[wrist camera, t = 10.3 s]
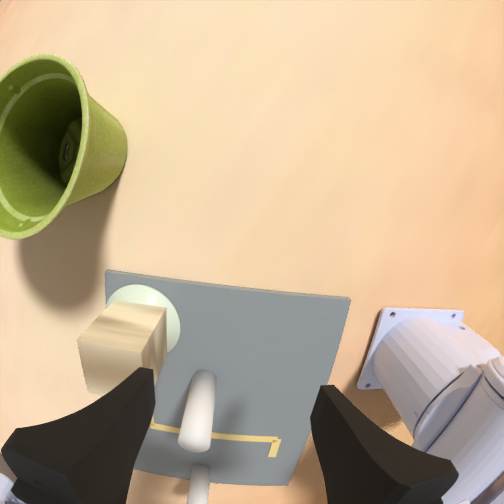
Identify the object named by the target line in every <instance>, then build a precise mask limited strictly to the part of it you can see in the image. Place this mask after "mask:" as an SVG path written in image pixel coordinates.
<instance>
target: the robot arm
mask: <svg viewBox="0 0 504 504" xmlns="http://www.w3.org/2000/svg"><path fill="white" fill-rule="evenodd" d="M392 312H393V315H391V316H390V314H391V313H392ZM452 315H453V316H452ZM451 316H452V317H451ZM463 316H464V312H463V311H462V310H449V309H418V308H396V307H385V308H383V309H382V311H381V313H380V316H379V320H378V323H377V326H376V330H375V333H374V336H373V339H372V342H371V345H370V349H369V352H368V354H367V357H366V360H365V363H364V366H363V369H362V372H361V374H360V377H359V380H358V382H357V387H358V389H359V390H367V389H384V391H385V392H386V394H387V396H388V397H389V399H390V401H391V402H392V404H393V405H394V407H395V409H396V410H397V412H398V414H399V415H400V417H401V419H402V420H403V422H404V424H405V425H406V427H407V429H408V430H409V432H410V434H411V435H412V437H413V439H414V442H413V444H412V446H409V445H407V444H405V443H403V442H401V441H399V440H398V439H396V438H394V437H393V436H391V435H390V434H388V433H387V432H385V431H384V430H382V429H381V428H379V427H378V426H377V425H376V424H374V423H373V422H372V421H371V420H369V419H368V418H367V417H366V416H365V415H364V414H363V413H362V412H360V411H359V410H358V409H357V408H356V407H355V406H354V405H353V404H352V403H351V402H350V401H349V400H348V399H347V398H346V397H345V396H344V395H343V394H342V393H341V392H340V391H339V390H338V389H337V388H336V387H335V386H334V385H321V386H320V389H319V392H318V395H317V398H316V401H315V404H314V407H313V410H312V413H311V416H310V422H311V430H312V436H313V440H314V444H315V447H316V451H317V454H318V458H319V461H320V464H321V468H322V471H323V475H324V480H325V486H326V493H327V500H328V504H504V356H501V354H500V353H499V351H498V350H497V349H496V348H495V347H494V346H492V345H491V344H490V343H489V342H487V341H486V340H485V339H483V338H482V337H481V336H479V335H478V334H477V333H476V332H474V331H473V330H472V329H470V328H469V327H468V326H466V325H465V324H464V323H462V319H463ZM368 383H369V384H368ZM366 384H368V385H366ZM155 404H156V400H155V388H154V372H153V369H149V368H144V367H139V368H138V369H136V370H135V371H134V372H133V373H132V374H131V375H129V376H128V377H127V378H126V379H125V380H123V381H122V382H121V383H120V384H119V385H117V386H116V387H115V388H113V389H112V390H111V391H110V392H108V393H107V394H105V395H104V396H102V397H101V398H100V399H98V400H97V401H95V402H94V403H92V404H90V405H89V406H87V407H85V408H83V409H81V410H79V411H77V412H75V413H73V414H70V415H68V416H65V417H63V418H60V419H58V420H54V421H51V422H48V423H44V424H40V425H36V426H30V427H23V428H16V429H15V431H14V432H13V433H12V434H11V436H10V437H9V439H8V440H7V441H6V443H5V444H4V446H3V447H2V449H1V452H2V456H3V457H4V460H5V461H6V463H7V464H8V466H9V467H10V468H11V470H12V471H13V473H14V474H15V475H16V477H17V480H16V482H15V483H14V482H13V481H12V480H11V479H9V478H8V477H7V476H5V475H4V474H2V473H0V504H126V499H127V494H128V489H129V485H130V480H131V476H132V472H133V468H134V464H135V461H136V458H137V456H138V453H139V451H140V448H141V446H142V443H143V441H144V438H145V436H146V433H147V431H148V428H149V426H150V423H151V420H152V416H153V412H154V408H155Z"/></svg>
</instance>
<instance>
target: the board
mask: <svg viewBox="0 0 504 504" xmlns="http://www.w3.org/2000/svg"><path fill="white" fill-rule="evenodd" d="M129 284H144V285H148V286H151V287H153V288H155V289H157V290H159V291H160V292H162V293H163V294H164V295H166V296H167V297H168V298H169V299H170V300H171V302H172V303H173V304H174V306H175V308H176V309H177V311H178V314H179V317H180V321H181V333H180V337H179V339H178V341H177V344H176V345H175V347H174V348H173V349H172V350H171V351H170V352H169V353H167V356H166V359H165V361H164V364H163V366H162V369H161V371H160V374H159V376H158V379H157V381H156V384H155V386H154V388H155V400H156V404H155V408H154V412H153V416H152V420H151V423H150V426H149V428H148V431H147V433H146V436H145V438H144V441H143V443H142V446H141V448H140V451H139V453H138V456H137V458H136V461H135V464H134V469H137V470H141V471H146V472H150V473H155V474H160V475H165V476H170V477H176V478H182V479H188V480H190V485H189V492H188V499H187V504H208V495H209V483H210V482H212V483H222V484H235V485H257V486H287V485H288V484H289V481H290V479H291V477H292V475H293V472H294V470H295V468H296V466H297V463H298V461H299V459H300V456H301V454H302V451H303V449H304V446H305V444H306V441H307V439H308V436H309V434H310V431H311V422H310V416H311V413H312V410H313V407H314V404H315V401H316V398H317V395H318V392H319V389H320V386H321V385H327V383H328V380H329V377H330V374H331V371H332V367H333V364H334V361H335V358H336V354H337V351H338V347H339V344H340V340H341V337H342V333H343V329H344V326H345V322H346V318H347V314H348V310H349V306H350V302H351V300H350V298H349V297H339V296H327V295H316V294H305V293H294V292H283V291H273V290H264V289H254V288H245V287H236V286H227V285H219V284H210V283H202V282H194V281H186V280H178V279H171V278H163V277H156V276H149V275H142V274H135V273H128V272H121V271H115V270H107V271H105V293H106V304H107V302H108V300H109V298H110V297H111V295H112V294H113V293H114V292H115V291H117V290H118V289H119V288H121V287H123V286H126V285H129Z"/></svg>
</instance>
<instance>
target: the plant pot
mask: <svg viewBox="0 0 504 504" xmlns="http://www.w3.org/2000/svg"><path fill="white" fill-rule="evenodd" d="M68 143H69V144H70V146H69V150H68V158H67V160H66V161H65V159H64V151H65V147H66V145H67V144H68ZM126 156H127V138H126V134H125V132H124V130H123V128H122V126H121V124H120V123H119V121H118V120H117V119H116V118H115V117H114V116H112V115H111V114H110V113H109V112H108V111H107V110H105V109H104V108H103V107H102V106H101V105H100V104H99V103H97V102H96V101H95V100H94V99H93V98H92V97H91V96H89V94H88V92H87V89H86V86H85V83H84V81H83V78H82V76H81V75H80V73H79V72H78V70H77V69H76V68H75V67H74V66H73V65H72V64H71V63H70V62H69V61H68V60H66V59H65V58H63V57H61V56H58V55H54V54H39V55H35V56H31V57H29V58H26V59H24V60H23V61H21V62H19V63H17V64H16V65H14V66H13V67H11V68H10V69H9V70H8V71H7V72H6V73H5V74H4V75H3V76H2V77H1V78H0V236H1V237H4V238H7V239H13V240H20V239H25V238H28V237H31V236H33V235H35V234H37V233H39V232H41V231H42V230H44V229H45V228H46V227H48V226H49V225H50V224H51V223H52V222H53V221H54V220H55V219H56V218H57V217H58V216H59V214H60V213H61V212H62V210H63V209H64V208H65V207H67V206H69V205H71V204H74V203H76V202H78V201H80V200H82V199H85V198H87V197H89V196H92V195H94V194H96V193H99V192H101V191H103V190H105V189H106V188H107V187H108V186H109V185H110V184H112V183H113V182H114V180H115V179H116V178H117V177H118V176H119V174H120V173H121V171H122V169H123V166H124V163H125V160H126Z"/></svg>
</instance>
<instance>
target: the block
mask: <svg viewBox="0 0 504 504" xmlns="http://www.w3.org/2000/svg"><path fill="white" fill-rule="evenodd" d="M77 343H78V348H79V353H80V359H81V363H82V368H83V373H84V377H85V381H86V386H87V390H88V392H90V393H93V394H97V395H100V396H104V395H105V394H107V393H108V392H110V391H111V390H112V389H113V388H115V387H116V386H117V385H119V384H120V383H121V382H122V381H123V380H125V379H126V378H127V377H128V376H129V375H131V374H132V373H133V372H134V371H135V370H136V369H138V368H139V367H144V368H149V369H153V372H154V386H155V384H156V381H157V379H158V376H159V374H160V371H161V369H162V366H163V364H164V361H165V359H166V356H167V308H166V307H159V306H152V305H145V304H138V303H132V302H125V301H119V300H114V301H113V302H112V303H111V304H110V305H109V306H108V307H107V308H106V309H105V310H104V311H103V312H102V313H101V314H100V315H99V316H98V317H97V319H96V320H95V321H94V322H93V323H92V324H91V325H90V326H89V327H88V328H87V329H86V330H85V331H84V332H83V333H82V334H81V335H80V336H79V337H78V338H77Z"/></svg>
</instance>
